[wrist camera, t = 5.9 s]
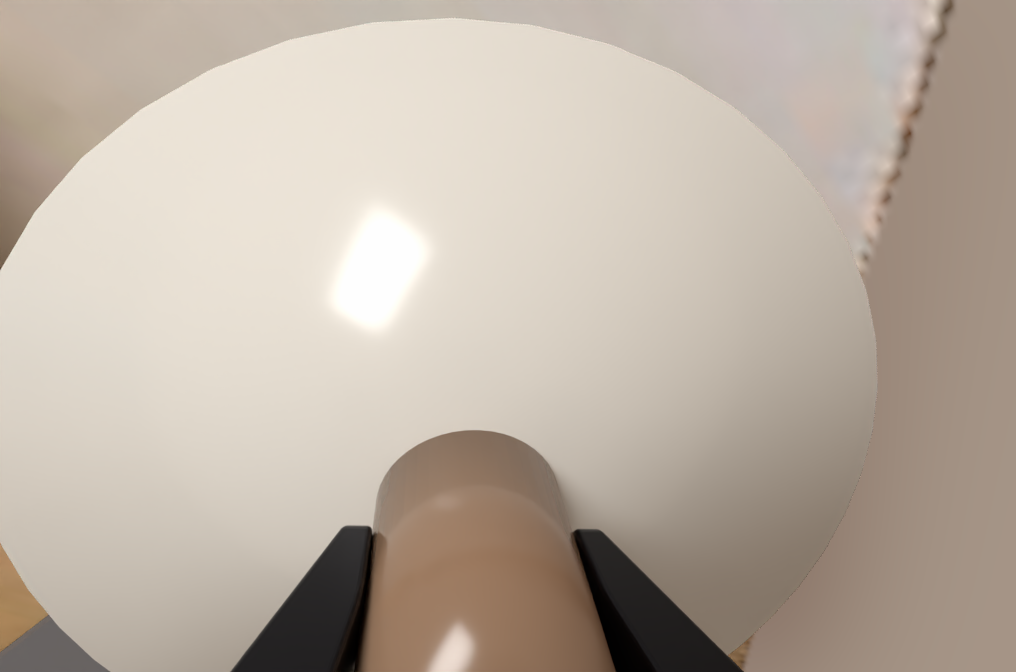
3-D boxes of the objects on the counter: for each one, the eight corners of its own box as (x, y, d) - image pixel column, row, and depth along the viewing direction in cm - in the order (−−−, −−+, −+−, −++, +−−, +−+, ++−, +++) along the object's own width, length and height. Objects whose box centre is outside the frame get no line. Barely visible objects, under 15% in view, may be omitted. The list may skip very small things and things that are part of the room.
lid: (934, 483, 12) (1248, 735, 7) (424, 788, 14) (422, 1123, 10) (559, -268, 6) (920, -1236, 2) (-190, 448, 8) (-904, 874, 4)
